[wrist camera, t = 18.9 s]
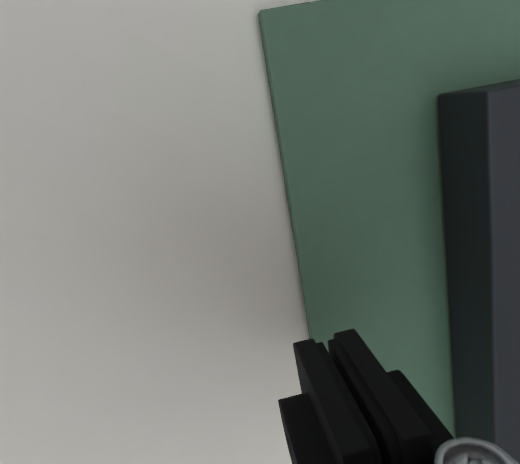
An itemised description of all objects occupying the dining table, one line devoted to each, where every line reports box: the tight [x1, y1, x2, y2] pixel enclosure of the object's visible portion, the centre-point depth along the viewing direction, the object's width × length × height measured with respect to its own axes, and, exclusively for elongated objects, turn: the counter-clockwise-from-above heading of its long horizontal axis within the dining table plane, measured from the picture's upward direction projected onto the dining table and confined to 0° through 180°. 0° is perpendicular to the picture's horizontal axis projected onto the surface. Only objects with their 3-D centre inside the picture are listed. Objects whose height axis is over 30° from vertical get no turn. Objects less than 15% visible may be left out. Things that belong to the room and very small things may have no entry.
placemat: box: [258, 0, 520, 438], centre depth 15 cm, size 20×13×1 cm, turn 10°
